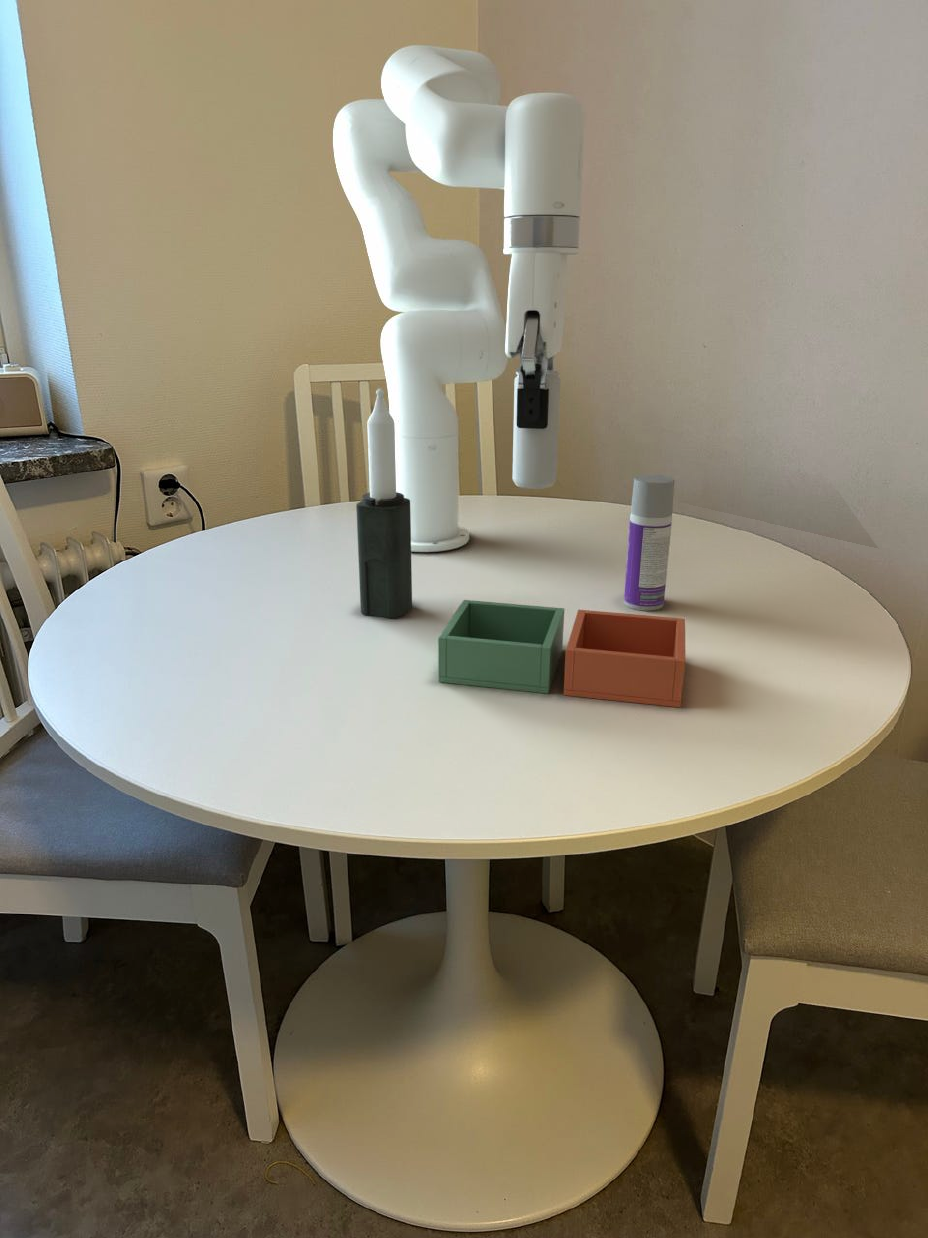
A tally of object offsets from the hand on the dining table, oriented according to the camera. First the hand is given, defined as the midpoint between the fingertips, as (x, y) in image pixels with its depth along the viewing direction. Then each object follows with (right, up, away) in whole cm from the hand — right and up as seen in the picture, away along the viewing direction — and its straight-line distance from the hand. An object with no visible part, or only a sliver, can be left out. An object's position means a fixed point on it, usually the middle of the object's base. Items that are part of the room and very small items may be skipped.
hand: (535, 422), depth 93 cm
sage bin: (-4, -26, -6) cm, 27 cm away
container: (+14, -19, +10) cm, 26 cm away
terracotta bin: (+8, -27, -9) cm, 29 cm away
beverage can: (0, -6, +3) cm, 7 cm away
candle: (-17, -20, +8) cm, 27 cm away
